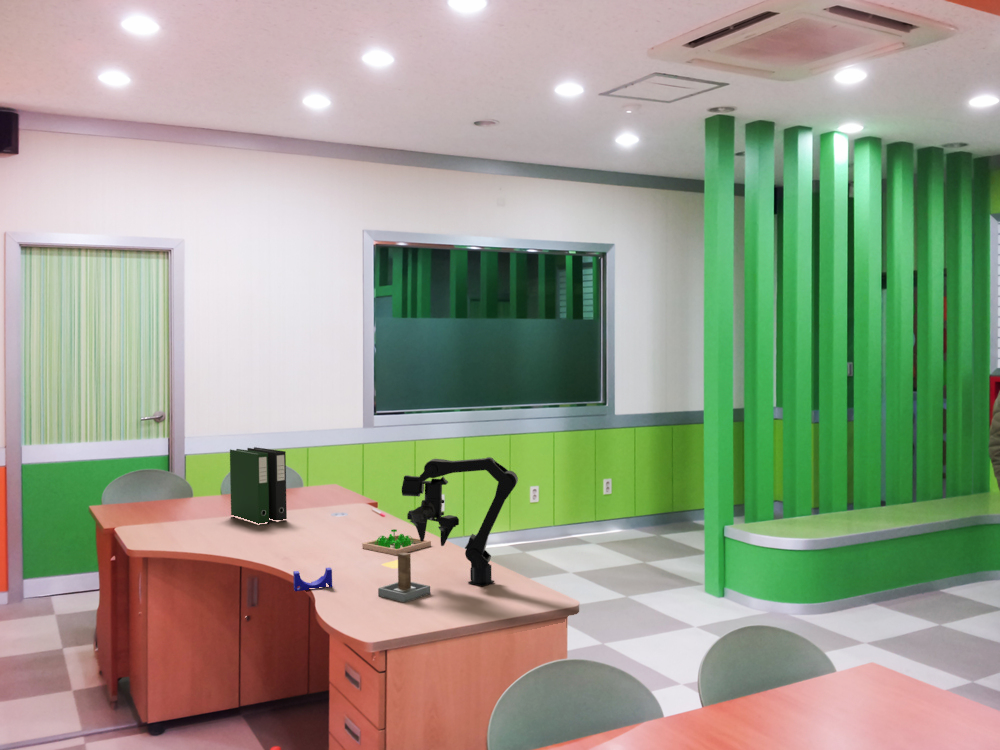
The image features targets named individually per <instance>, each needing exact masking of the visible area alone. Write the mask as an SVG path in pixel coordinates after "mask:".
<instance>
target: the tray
mask: <svg viewBox="0 0 1000 750" xmlns="http://www.w3.org/2000/svg"><path fill="white" fill-rule="evenodd" d="M411 586H412V587H416V590H413V591H410V592H407V593H400V592H396V591H393V589H396V588H398V581H397V582H394V583H391V584H387V585H384V586H380V587H378V588H377V590H378V591H377V593H378V597H381V598H384V597H385V599H389V600H393V601H397V602H400V603H401V602H402V603H407V602H410V600H411V601H412V600H413V599H414V600H416V599H419V598H422V597H426V596H428V595H431V586H430V585H427V584H423V583H418V582H414V581H411ZM427 594H428V595H427ZM421 596H422V597H421Z"/></svg>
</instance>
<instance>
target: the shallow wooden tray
mask: <svg viewBox="0 0 1000 750" xmlns="http://www.w3.org/2000/svg"><path fill="white" fill-rule="evenodd" d="M399 535H400V534H395V541H396V540H397V539H398V537H399ZM392 536H393V537H394V535H392ZM405 536H406V535H404V537H405ZM385 537H386V538H387V539H388V538H389V536H385ZM385 537H384V538H385ZM411 537H412V536H411ZM411 537H410V536H409V538H410V541H411V543H412V544H411V546H410V545H409V546H407V547H400V548H399V549H395V548H392V547H390V548H388V547H383V546H378V540H377V539H375V540H371V541H367V542H364V543H362V544H361V545H362V546H361V547H362V549H363V548H364V550H368V549H369V551H374V552H379V553H384V554H388V555H392V556H398V554H400V553H404V552H405V553H410V552H414V551H418V550H421V548H422V549H425V548H429V547H431V546H432V541H431V540H428V539H424V541H421V540H420V538H417V537H412V538H411ZM386 538H385V540H386ZM405 538H406V537H405ZM412 539H413V542H412ZM376 540H377V542H376ZM379 540H380V539H379ZM404 540H405V539H404ZM375 543H376V545H375ZM413 543H415V544H413ZM428 546H429V547H428ZM417 549H418V550H417Z"/></svg>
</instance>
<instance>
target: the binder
mask: <svg viewBox="0 0 1000 750" xmlns="http://www.w3.org/2000/svg"><path fill="white" fill-rule="evenodd" d="M286 455H287V454H286V451H283V450H277V449H270V448H262V447H256V446H254V447H252V448H251V447H247V448H246V449H242V448H241V449H240V448H236V450H235V449H231V448H230V449H229V471H230V472H229V474H230V475H229V477H230V516H231V515H234V516H238V517H241V518H244V519H247V520H250V521H253V522H256V523H258V524H259V523H265V522H269V523H270V521H269V518H270V519H273V520H283V519H288V518H287V515H288V514H287V471H286V470H287V465H286V462H287V461H286V459H287V458H286Z"/></svg>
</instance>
